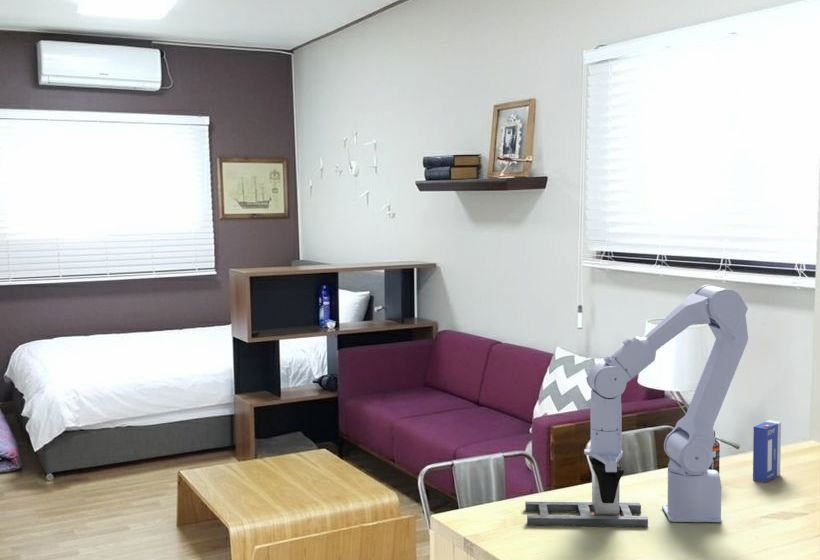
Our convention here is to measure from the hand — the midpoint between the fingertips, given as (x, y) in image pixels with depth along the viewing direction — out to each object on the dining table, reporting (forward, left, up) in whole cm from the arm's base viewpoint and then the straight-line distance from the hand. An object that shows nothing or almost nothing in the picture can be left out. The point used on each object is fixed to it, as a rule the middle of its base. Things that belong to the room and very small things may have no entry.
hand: (606, 498), depth 165 cm
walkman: (-37, -26, -4) cm, 46 cm away
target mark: (0, 0, -4) cm, 4 cm away
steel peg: (0, 0, -3) cm, 3 cm away
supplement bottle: (-23, -22, -4) cm, 32 cm away
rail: (+4, 0, -4) cm, 6 cm away
